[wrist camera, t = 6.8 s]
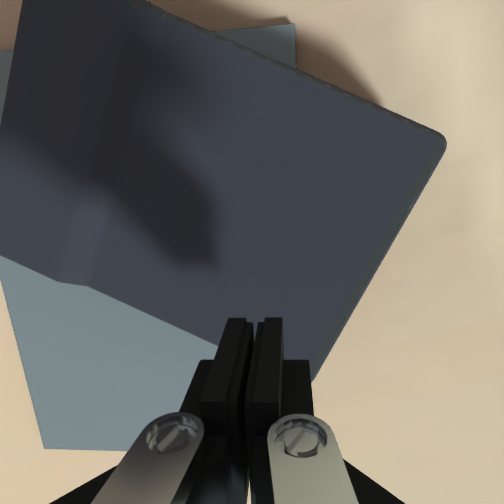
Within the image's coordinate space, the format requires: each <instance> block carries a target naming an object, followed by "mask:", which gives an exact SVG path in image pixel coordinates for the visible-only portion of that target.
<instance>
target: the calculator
mask: <svg viewBox="0 0 504 504" xmlns="http://www.w3.org/2000/svg"><path fill="white" fill-rule="evenodd" d="M446 147H447V141H446V139H445V137H444V136H443V135H442V134H441V133H439V132H437V131H435V130H433V129H430V128H428V127H426V126H424V125H422V124H419V123H417V122H415V121H412V120H410V119H408V118H406V117H403V116H401V115H399V114H397V113H394V112H392V111H390V110H388V109H385V108H383V107H381V106H378V105H376V104H374V103H372V102H369V101H367V100H365V99H363V98H360V97H358V96H356V95H354V94H351V93H349V92H347V91H345V90H342V89H340V88H338V87H335V86H333V85H331V84H329V83H326V82H324V81H322V80H320V79H317V78H315V77H313V76H311V75H308V74H306V73H304V72H301V71H299V70H297V69H295V68H292V67H290V66H288V65H286V64H283V63H281V62H279V61H277V60H274V59H272V58H270V57H267V56H265V55H263V54H261V53H258V52H256V51H254V50H252V49H249V48H247V47H245V46H243V45H240V44H238V43H236V42H233V41H231V40H229V39H227V38H224V37H222V36H220V35H218V34H215V33H213V32H211V31H209V30H206V29H204V28H202V27H200V26H197V25H195V24H193V23H190V22H188V21H186V20H184V19H181V18H179V17H177V16H175V15H172V14H170V13H168V12H166V11H164V10H162V9H161V8H159V7H157V6H155V5H153V4H151V3H149V2H147V1H145V0H23V2H22V7H21V13H20V18H19V24H18V29H17V35H16V41H15V46H14V52H13V57H12V63H11V68H10V74H9V79H8V85H7V91H6V96H5V102H4V107H3V113H2V118H1V124H0V256H2V257H5V258H7V259H9V260H11V261H13V262H16V263H18V264H20V265H22V266H24V267H26V268H29V269H31V270H33V271H35V272H37V273H40V274H42V275H44V276H46V277H48V278H50V279H53V280H55V281H57V282H60V283H67V284H74V285H81V286H87V287H90V288H92V289H94V290H96V291H98V292H101V293H103V294H105V295H107V296H109V297H112V298H114V299H116V300H118V301H120V302H123V303H125V304H127V305H129V306H131V307H133V308H136V309H138V310H140V311H142V312H144V313H147V314H149V315H151V316H153V317H155V318H157V319H160V320H162V321H164V322H166V323H168V324H171V325H173V326H175V327H177V328H179V329H181V330H184V331H186V332H188V333H190V334H192V335H194V336H197V337H199V338H201V339H203V340H205V341H208V342H210V343H212V344H214V345H216V346H219V343H220V340H221V337H222V334H223V331H224V328H225V326H226V323H227V320H228V318H246V319H247V322H253V326H254V341H255V336H256V331H257V325H258V322H264V320H265V317H283V337H284V360H309V364H310V376H311V382H312V381H313V380H314V378H315V377H316V375H317V373H318V372H319V370H320V368H321V366H322V365H323V363H324V361H325V360H326V358H327V356H328V354H329V353H330V351H331V349H332V347H333V346H334V344H335V342H336V340H337V339H338V337H339V335H340V333H341V332H342V330H343V328H344V326H345V325H346V323H347V321H348V320H349V318H350V316H351V314H352V313H353V311H354V309H355V307H356V306H357V304H358V302H359V300H360V299H361V297H362V295H363V293H364V292H365V290H366V288H367V287H368V285H369V283H370V281H371V280H372V278H373V276H374V274H375V273H376V271H377V269H378V267H379V266H380V264H381V262H382V260H383V259H384V257H385V255H386V253H387V252H388V250H389V248H390V247H391V245H392V243H393V241H394V240H395V238H396V236H397V234H398V233H399V231H400V229H401V227H402V226H403V224H404V222H405V220H406V219H407V217H408V215H409V214H410V212H411V210H412V208H413V207H414V205H415V203H416V201H417V200H418V198H419V196H420V194H421V193H422V191H423V189H424V187H425V186H426V184H427V182H428V180H429V179H430V177H431V175H432V174H433V172H434V170H435V168H436V167H437V165H438V163H439V161H440V160H441V158H442V156H443V154H444V152H445V150H446Z"/></svg>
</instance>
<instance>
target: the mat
mask: <svg viewBox="0 0 504 504" xmlns="http://www.w3.org/2000/svg"><path fill="white" fill-rule="evenodd" d="M211 32H213V33H215V34H218V35H220V36H222V37H224V38H227V39H229V40H231V41H233V42H236V43H238V44H240V45H243V46H245V47H247V48H249V49H252V50H254V51H256V52H258V53H261V54H263V55H265V56H267V57H270V58H272V59H274V60H277V61H279V62H281V63H283V64H286V65H288V66H290V67H292V68H295V69H296V49H295V24H285V25H274V26H263V27H253V28H242V29H231V30H221V31H211ZM13 52H14V50H7V51H0V124H1V118H2V113H3V107H4V102H5V96H6V91H7V85H8V79H9V74H10V68H11V63H12V57H13ZM0 280H1V284H2V288H3V292H4V296H5V299H6V303H7V307H8V311H9V315H10V319H11V323H12V326H13V330H14V334H15V338H16V342H17V346H18V350H19V353H20V357H21V361H22V365H23V369H24V373H25V377H26V381H27V384H28V388H29V392H30V396H31V400H32V404H33V408H34V411H35V415H36V419H37V423H38V427H39V431H40V435H41V438H42V442H43V446H44V449H69V450H105V451H128V450H129V449H130V447H131V446H132V445H133V443H134V442H135V440H136V439H137V438H138V436H139V435H140V433H141V432H142V430H143V429H144V428H145V427H146V426H147V425H148V424H149V423H150V422H152V421H153V420H155V419H156V418H158V417H160V416H162V415H165V414H168V413H173V412H179V410H180V408H181V405H182V403H183V400H184V398H185V395H186V393H187V390H188V388H189V385H190V383H191V381H192V378H193V376H194V373H195V371H196V368H197V366H198V363H199V362H200V360H202V359H214V357H215V354H216V352H217V349H218V346H216V345H214V344H212V343H210V342H208V341H205V340H203V339H201V338H199V337H197V336H194V335H192V334H190V333H188V332H186V331H184V330H181V329H179V328H177V327H175V326H173V325H171V324H168V323H166V322H164V321H162V320H160V319H157V318H155V317H153V316H151V315H149V314H147V313H144V312H142V311H140V310H138V309H136V308H133V307H131V306H129V305H127V304H125V303H123V302H120V301H118V300H116V299H114V298H112V297H109V296H107V295H105V294H103V293H101V292H98V291H96V290H94V289H92V288H90V287H87V286H81V285H74V284H67V283H60V282H57V281H55V280H53V279H50V278H48V277H46V276H44V275H42V274H40V273H37V272H35V271H33V270H31V269H29V268H26V267H24V266H22V265H20V264H18V263H16V262H13V261H11V260H9V259H7V258H5V257H2V256H0Z"/></svg>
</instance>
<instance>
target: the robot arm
mask: <svg viewBox="0 0 504 504" xmlns="http://www.w3.org/2000/svg"><path fill="white" fill-rule="evenodd" d="M249 479H250V491H251V504H405V503H404V502H402V501H401V500H399V499H398V498H397V497H395V496H394V495H393V494H391V493H390V492H388V491H387V490H386V489H384V488H383V487H381V486H380V485H379V484H377V483H376V482H375V481H373V480H372V479H370V478H369V477H368V476H366V475H365V474H363V473H362V472H361V471H359V470H358V469H356V468H355V467H354V466H352V465H351V464H350V463H348V462H347V461H345V460H344V459H343V458H342V455H341V452H340V450H339V447H338V444H337V441H336V438H335V436H334V433H333V431H332V430H331V428H330V426H329V425H327V424H326V423H325V422H324V421H323V420H321V419H319V418H317V417H315V416H314V410H313V399H312V387H311V376H310V364H309V360H284V337H283V317H265V320H264V322H258V325H257V331H256V336H255V341H254V326H253V322H247V319H246V318H228V320H227V323H226V326H225V328H224V331H223V334H222V337H221V340H220V343H219V346H218V349H217V352H216V354H215V357H214V359H202V360H200V362H199V363H198V366H197V368H196V371H195V373H194V376H193V378H192V381H191V383H190V385H189V388H188V390H187V393H186V395H185V398H184V400H183V403H182V405H181V408H180V410H179V412H173V413H168V414H165V415H162V416H160V417H158V418H156V419H155V420H153V421H152V422H150V423H149V424H148V425H147V426H146V427H145V428H144V429H143V430H142V432H141V433H140V435H139V436H138V438H137V439H136V440H135V442H134V443H133V445H132V446H131V447H130V449H129V450H128V452H127V453H126V454H125V456H124V457H123V459H122V460H121V462H120V463H119V464H118V465H117V466H115V467H113V468H111V469H110V470H108V471H106V472H104V473H103V474H101V475H99V476H97V477H96V478H94V479H92V480H90V481H89V482H87V483H85V484H83V485H81V486H80V487H78V488H76V489H74V490H73V491H71V492H69V493H67V494H66V495H64V496H62V497H60V498H59V499H57V500H55V501H53V502H51V503H50V504H247V496H248V488H249Z"/></svg>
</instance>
